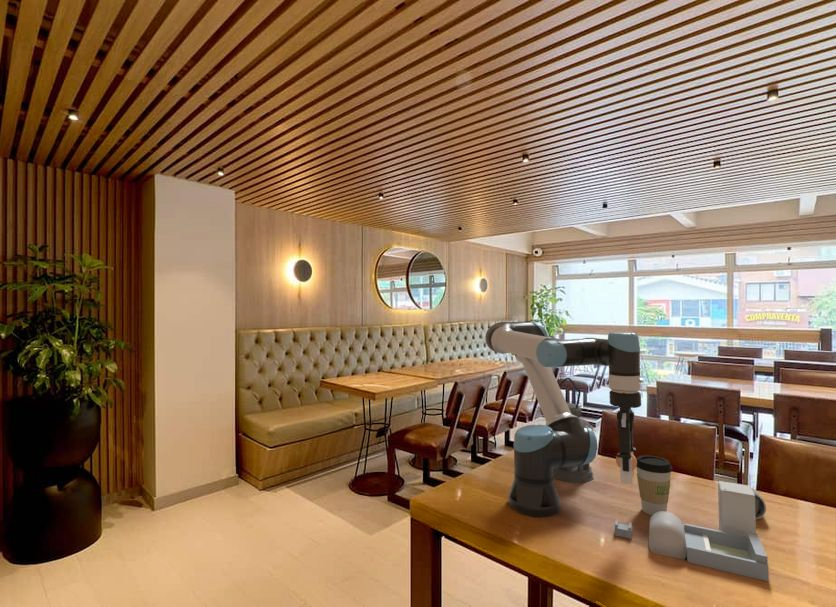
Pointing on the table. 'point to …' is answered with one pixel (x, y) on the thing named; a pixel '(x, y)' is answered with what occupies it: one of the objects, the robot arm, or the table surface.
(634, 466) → the ball
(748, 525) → the supplement box
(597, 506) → the table surface
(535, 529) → the table surface
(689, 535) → the grey molded pieces
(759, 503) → the ceramic mug
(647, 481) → the coffee cup
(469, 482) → the table surface
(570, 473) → the lantern
